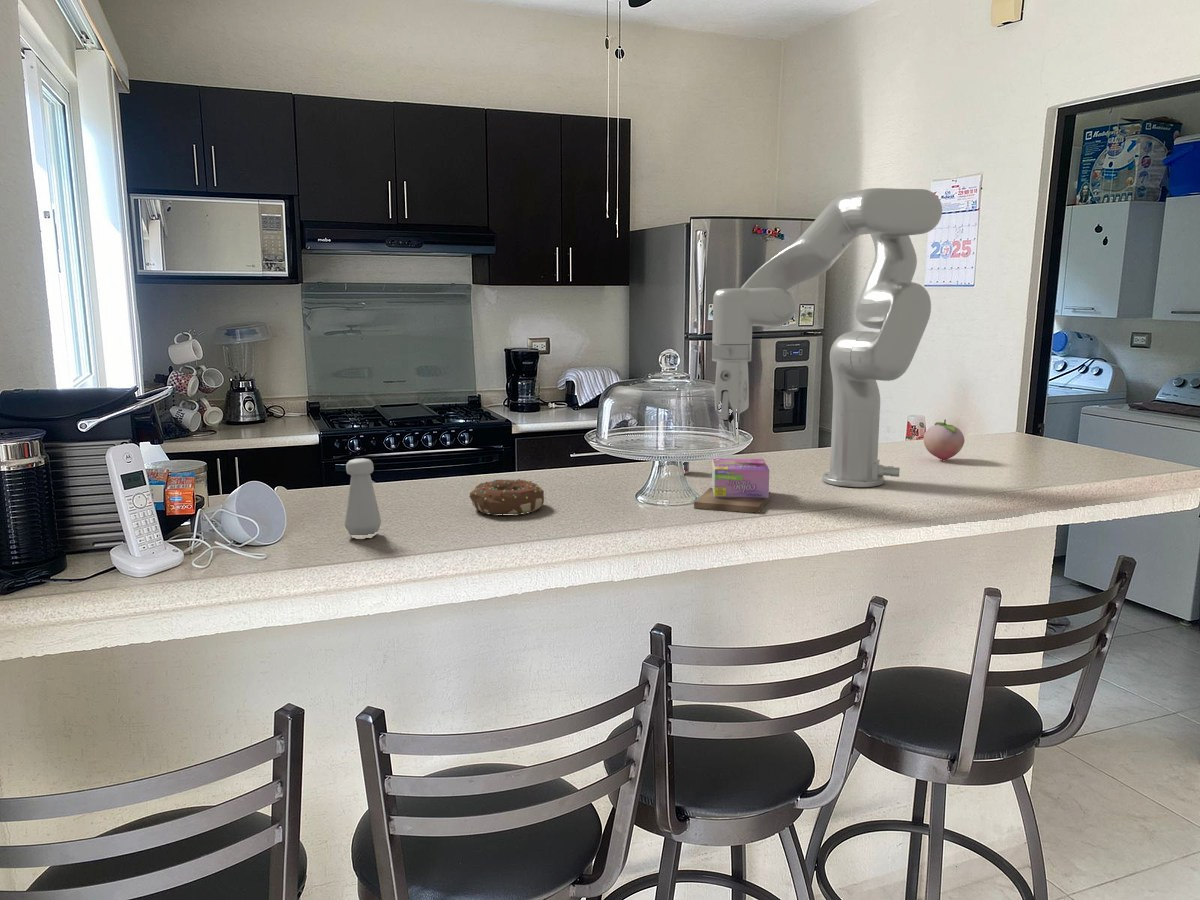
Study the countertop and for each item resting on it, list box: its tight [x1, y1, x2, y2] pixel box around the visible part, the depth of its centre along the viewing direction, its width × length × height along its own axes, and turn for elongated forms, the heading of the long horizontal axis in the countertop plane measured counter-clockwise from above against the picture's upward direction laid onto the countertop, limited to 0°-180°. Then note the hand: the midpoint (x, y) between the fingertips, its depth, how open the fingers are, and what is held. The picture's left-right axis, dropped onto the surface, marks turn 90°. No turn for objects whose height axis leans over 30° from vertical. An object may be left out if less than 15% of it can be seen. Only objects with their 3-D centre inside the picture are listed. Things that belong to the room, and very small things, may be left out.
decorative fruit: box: [923, 419, 965, 461], centre depth 202 cm, size 9×8×10 cm
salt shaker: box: [344, 457, 382, 536], centre depth 140 cm, size 6×6×13 cm
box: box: [711, 457, 770, 498], centre depth 166 cm, size 10×6×12 cm
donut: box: [468, 478, 545, 515], centre depth 159 cm, size 14×14×5 cm
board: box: [693, 487, 771, 514], centre depth 162 cm, size 12×13×1 cm
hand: (729, 447), depth 167 cm, fingers closed
